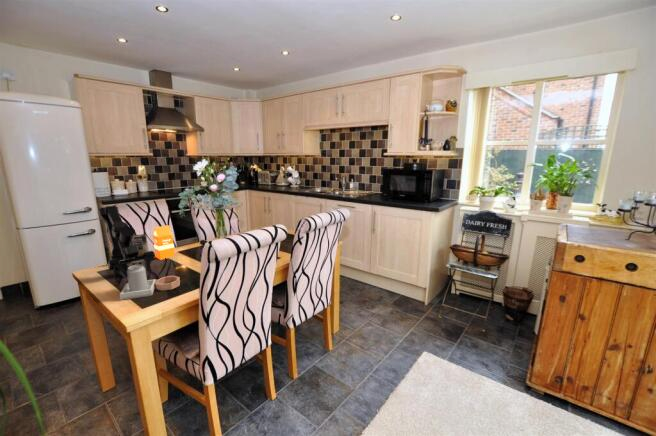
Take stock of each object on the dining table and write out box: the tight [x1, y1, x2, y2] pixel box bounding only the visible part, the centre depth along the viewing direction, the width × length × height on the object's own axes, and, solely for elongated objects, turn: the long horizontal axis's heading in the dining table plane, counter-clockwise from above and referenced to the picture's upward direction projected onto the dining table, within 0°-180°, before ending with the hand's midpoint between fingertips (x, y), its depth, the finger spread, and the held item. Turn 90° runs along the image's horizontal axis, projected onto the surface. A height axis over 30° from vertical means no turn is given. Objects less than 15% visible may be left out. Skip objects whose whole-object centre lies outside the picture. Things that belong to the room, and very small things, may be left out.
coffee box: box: [131, 233, 149, 264], centre depth 186 cm, size 9×6×16 cm
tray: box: [119, 278, 157, 301], centre depth 145 cm, size 13×13×3 cm
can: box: [127, 263, 148, 292], centre depth 144 cm, size 8×8×12 cm
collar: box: [155, 275, 181, 291], centre depth 152 cm, size 10×10×3 cm
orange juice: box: [152, 224, 175, 261], centre depth 193 cm, size 8×9×20 cm
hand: (137, 275), depth 143 cm, fingers open, 9 cm apart
